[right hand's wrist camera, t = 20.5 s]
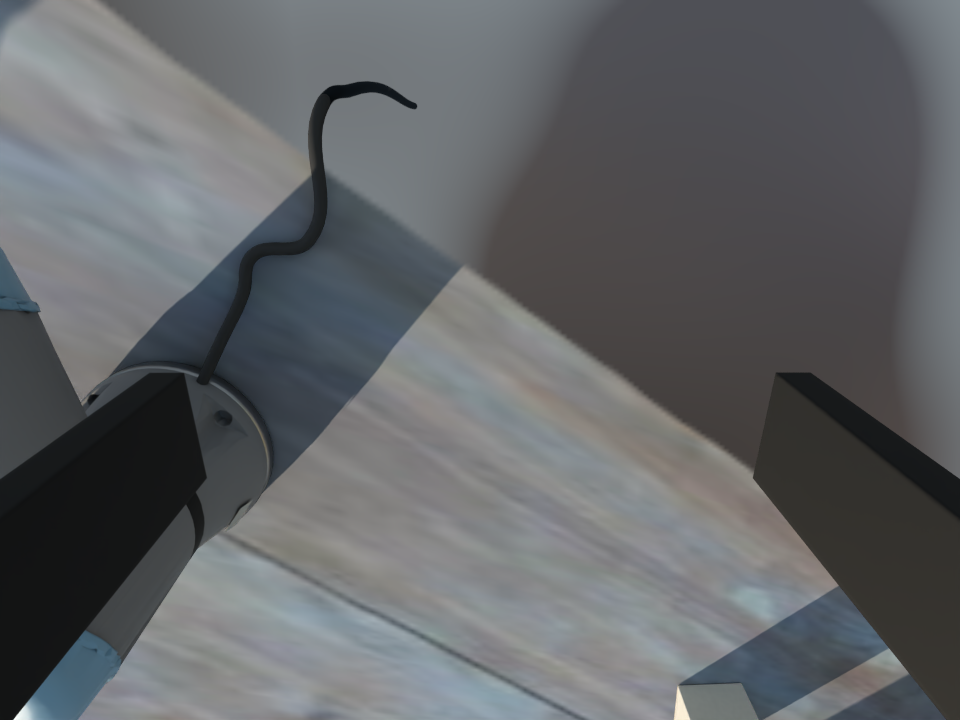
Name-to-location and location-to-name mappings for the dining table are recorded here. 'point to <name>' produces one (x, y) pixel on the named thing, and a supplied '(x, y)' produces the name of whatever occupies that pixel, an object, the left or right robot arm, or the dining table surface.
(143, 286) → the dining table surface
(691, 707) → the brick
